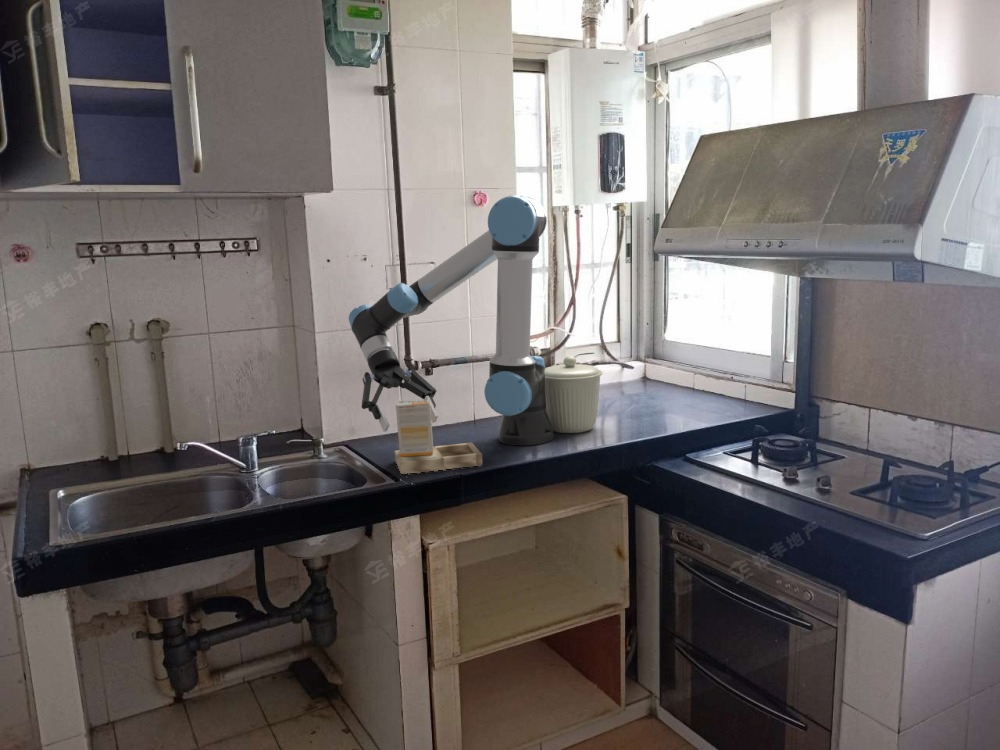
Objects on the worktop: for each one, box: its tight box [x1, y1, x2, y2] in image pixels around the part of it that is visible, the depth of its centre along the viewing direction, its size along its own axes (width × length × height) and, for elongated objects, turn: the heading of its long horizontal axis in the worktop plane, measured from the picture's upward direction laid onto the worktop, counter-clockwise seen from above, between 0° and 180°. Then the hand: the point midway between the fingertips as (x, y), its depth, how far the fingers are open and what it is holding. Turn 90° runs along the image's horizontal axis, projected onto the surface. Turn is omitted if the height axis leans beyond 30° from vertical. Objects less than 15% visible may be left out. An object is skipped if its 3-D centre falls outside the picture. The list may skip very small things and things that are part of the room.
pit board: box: [394, 442, 483, 475], centre depth 198 cm, size 20×12×3 cm, turn 104°
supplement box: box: [395, 399, 434, 457], centre depth 196 cm, size 8×5×13 cm, turn 92°
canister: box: [545, 355, 603, 434], centre depth 226 cm, size 18×18×21 cm
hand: (411, 424), depth 197 cm, fingers open, 13 cm apart
